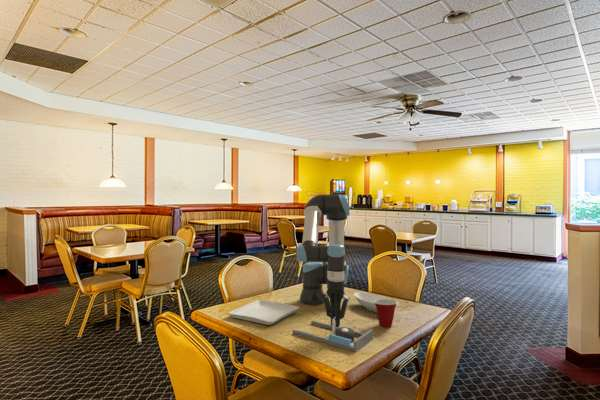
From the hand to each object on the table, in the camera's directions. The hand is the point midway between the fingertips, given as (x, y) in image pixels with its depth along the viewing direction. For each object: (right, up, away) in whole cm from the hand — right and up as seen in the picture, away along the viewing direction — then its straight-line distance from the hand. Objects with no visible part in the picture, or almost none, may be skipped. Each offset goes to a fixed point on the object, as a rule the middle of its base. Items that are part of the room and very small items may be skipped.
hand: (335, 333), depth 154 cm
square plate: (-34, -2, +28) cm, 44 cm away
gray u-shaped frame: (-2, -2, +1) cm, 2 cm away
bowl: (+26, -2, +39) cm, 47 cm away
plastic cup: (+26, -2, +15) cm, 30 cm away
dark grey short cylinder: (+4, -2, -3) cm, 5 cm away
